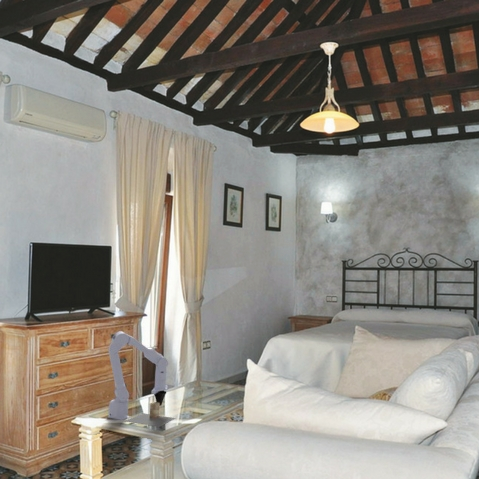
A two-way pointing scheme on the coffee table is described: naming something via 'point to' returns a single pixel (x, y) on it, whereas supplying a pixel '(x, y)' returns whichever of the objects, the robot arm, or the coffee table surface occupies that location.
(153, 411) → the maple block
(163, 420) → the mat
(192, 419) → the coffee table surface
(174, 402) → the coffee table surface
